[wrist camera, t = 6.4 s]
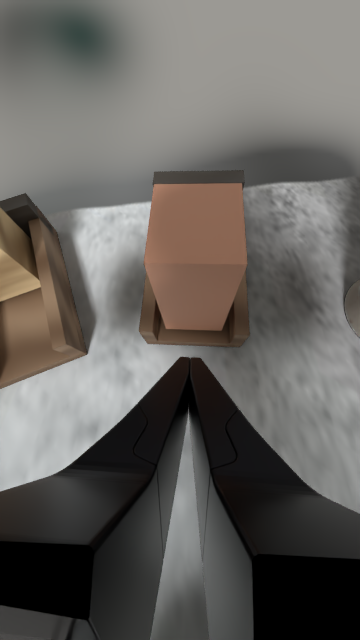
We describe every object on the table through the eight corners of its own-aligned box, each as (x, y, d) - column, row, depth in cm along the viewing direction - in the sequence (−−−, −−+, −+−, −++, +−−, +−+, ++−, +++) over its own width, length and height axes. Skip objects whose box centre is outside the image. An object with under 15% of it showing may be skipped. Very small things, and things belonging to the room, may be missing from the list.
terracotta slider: (221, 330, 18) (247, 264, 10) (166, 328, 19) (143, 263, 10) (220, 278, 20) (241, 183, 11) (170, 277, 20) (154, 184, 12)
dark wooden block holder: (239, 347, 19) (255, 328, 14) (147, 343, 20) (133, 324, 15) (233, 214, 24) (243, 168, 20) (161, 214, 25) (154, 170, 20)
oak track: (87, 354, 19) (54, 338, 15) (-4, 390, 19) (-69, 385, 14) (56, 231, 25) (25, 191, 20) (-16, 256, 24) (-66, 220, 19)
